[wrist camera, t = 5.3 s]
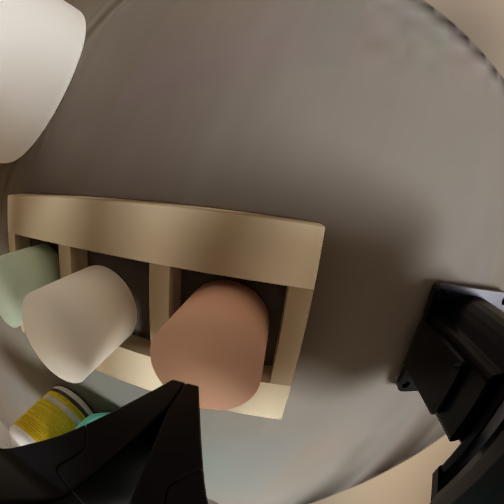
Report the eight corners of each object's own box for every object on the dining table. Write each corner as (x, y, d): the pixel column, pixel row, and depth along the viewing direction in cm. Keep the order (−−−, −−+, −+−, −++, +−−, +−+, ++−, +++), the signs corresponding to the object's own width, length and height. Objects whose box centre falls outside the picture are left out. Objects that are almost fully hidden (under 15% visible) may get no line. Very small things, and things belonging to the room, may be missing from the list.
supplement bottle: (47, 375, 17) (-20, 433, 7) (90, 397, 16) (21, 473, 7) (64, 416, 18) (12, 473, 8) (106, 437, 17) (56, 508, 8)
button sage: (64, 248, 13) (14, 264, 9) (70, 310, 14) (27, 337, 10) (28, 239, 13) (-16, 252, 10) (34, 295, 14) (-5, 315, 10)
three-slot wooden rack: (320, 223, 12) (325, 227, 10) (282, 401, 14) (281, 419, 12) (23, 193, 13) (8, 194, 12) (34, 324, 16) (22, 331, 14)
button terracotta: (275, 287, 12) (270, 331, 8) (263, 361, 13) (253, 418, 9) (188, 273, 12) (147, 306, 8) (185, 346, 13) (153, 394, 9)
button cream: (136, 273, 11) (78, 306, 7) (139, 349, 12) (96, 396, 8) (73, 258, 12) (15, 281, 8) (80, 328, 12) (33, 362, 9)
